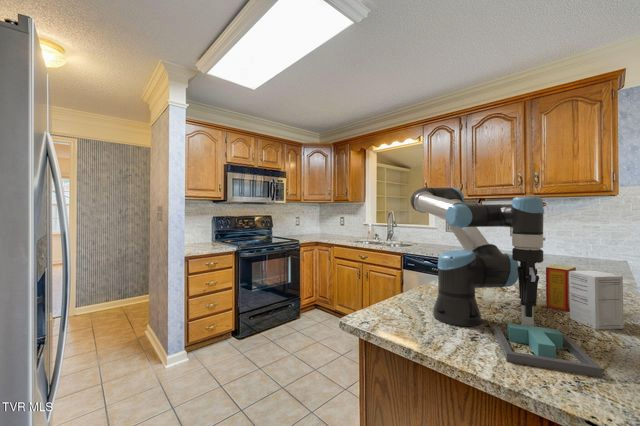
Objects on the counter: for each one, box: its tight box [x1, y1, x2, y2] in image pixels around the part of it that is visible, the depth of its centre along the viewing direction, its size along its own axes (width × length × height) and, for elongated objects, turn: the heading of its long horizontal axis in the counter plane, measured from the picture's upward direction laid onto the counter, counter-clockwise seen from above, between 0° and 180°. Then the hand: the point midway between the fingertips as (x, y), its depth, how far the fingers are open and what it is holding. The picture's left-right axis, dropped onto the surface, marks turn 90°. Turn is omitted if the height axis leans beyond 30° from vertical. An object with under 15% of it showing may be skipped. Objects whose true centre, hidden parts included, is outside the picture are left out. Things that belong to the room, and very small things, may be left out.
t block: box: [506, 322, 564, 359], centre depth 75 cm, size 12×12×4 cm
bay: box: [493, 325, 603, 379], centre depth 74 cm, size 18×18×2 cm
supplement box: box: [569, 270, 625, 331], centre depth 92 cm, size 10×9×17 cm
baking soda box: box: [545, 264, 577, 313], centre depth 109 cm, size 10×6×16 cm
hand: (527, 326), depth 84 cm, fingers closed
